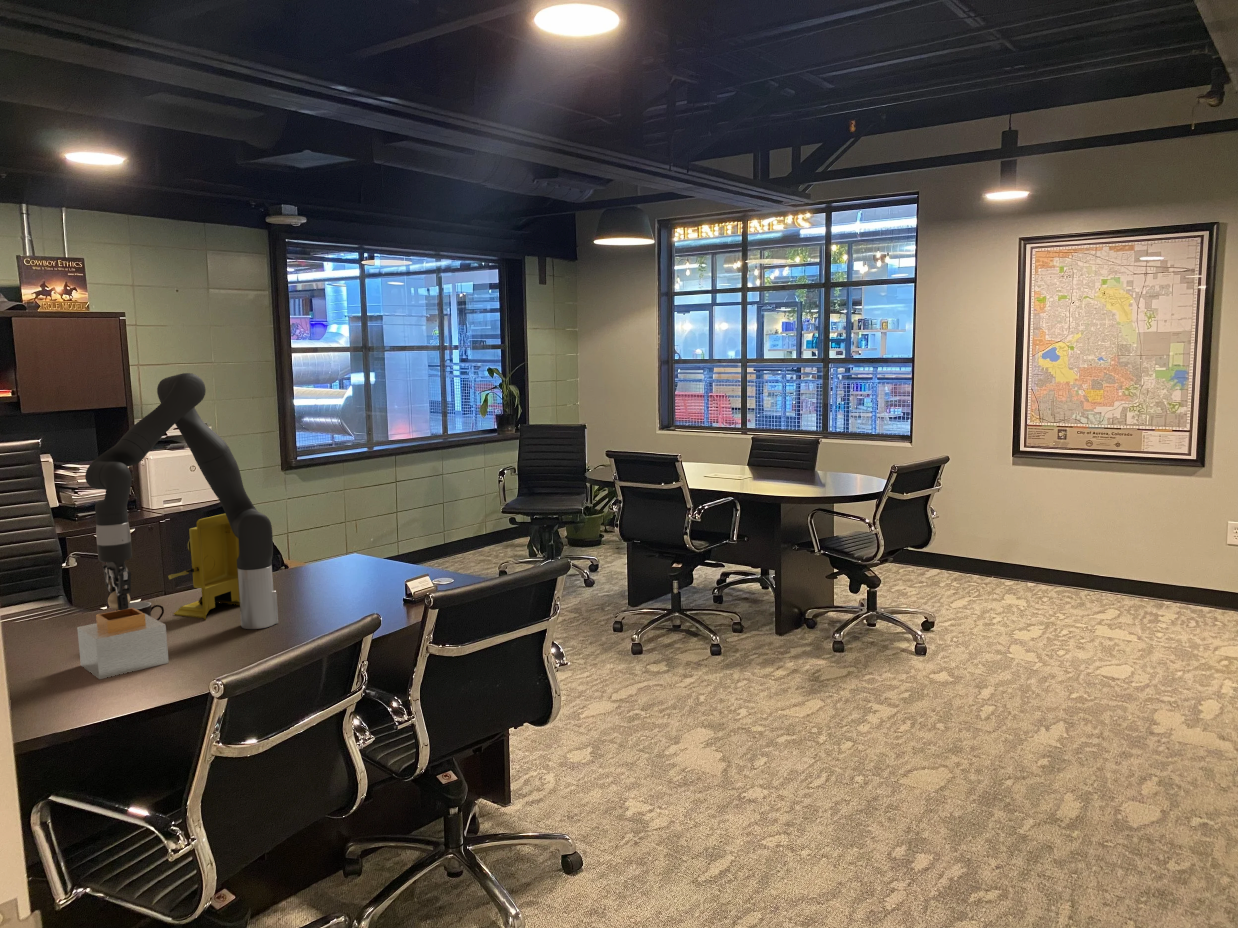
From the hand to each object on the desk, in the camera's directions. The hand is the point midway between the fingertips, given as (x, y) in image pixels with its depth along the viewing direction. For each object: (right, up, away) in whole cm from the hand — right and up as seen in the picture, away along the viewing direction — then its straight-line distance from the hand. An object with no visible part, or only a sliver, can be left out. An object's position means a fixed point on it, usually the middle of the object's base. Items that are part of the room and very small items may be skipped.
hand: (119, 607), depth 233 cm
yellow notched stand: (+1, -9, +51) cm, 52 cm away
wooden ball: (0, -1, 0) cm, 1 cm away
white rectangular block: (0, -15, +2) cm, 15 cm away
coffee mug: (-5, -13, +21) cm, 25 cm away
